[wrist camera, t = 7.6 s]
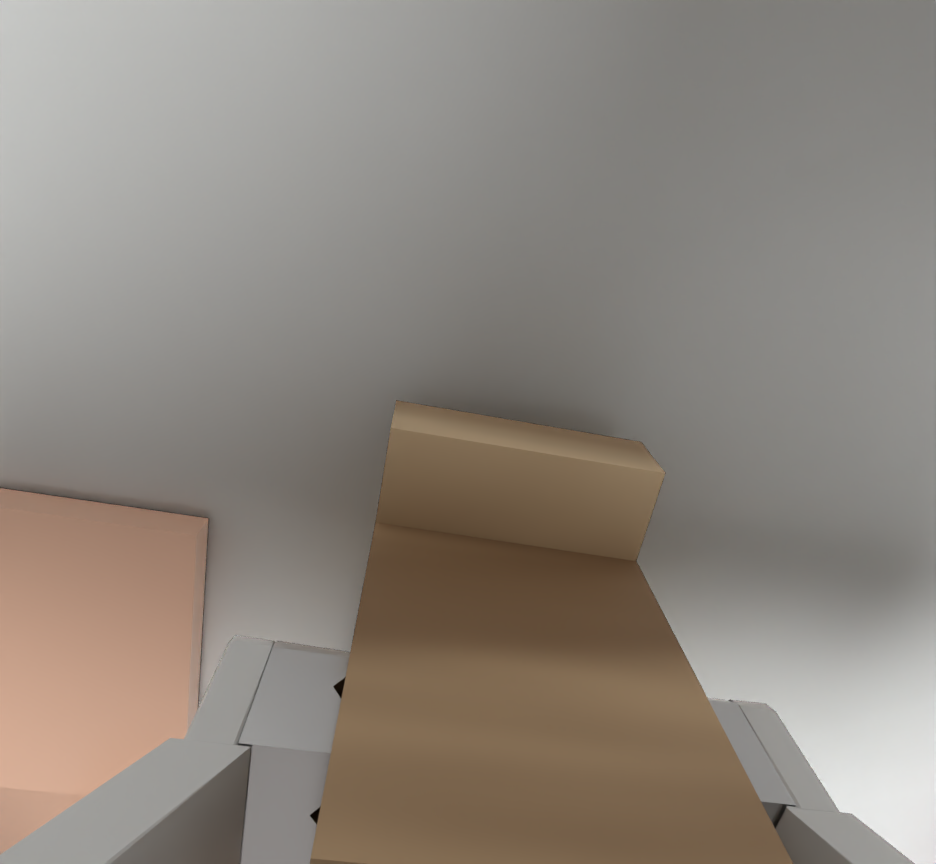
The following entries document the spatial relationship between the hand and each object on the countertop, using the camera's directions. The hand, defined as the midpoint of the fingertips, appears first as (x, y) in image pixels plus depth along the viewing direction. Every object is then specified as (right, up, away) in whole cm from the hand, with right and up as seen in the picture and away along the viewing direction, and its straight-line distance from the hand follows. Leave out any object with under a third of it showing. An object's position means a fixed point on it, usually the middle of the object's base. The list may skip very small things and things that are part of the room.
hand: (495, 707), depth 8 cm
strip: (-1, -3, +5) cm, 6 cm away
